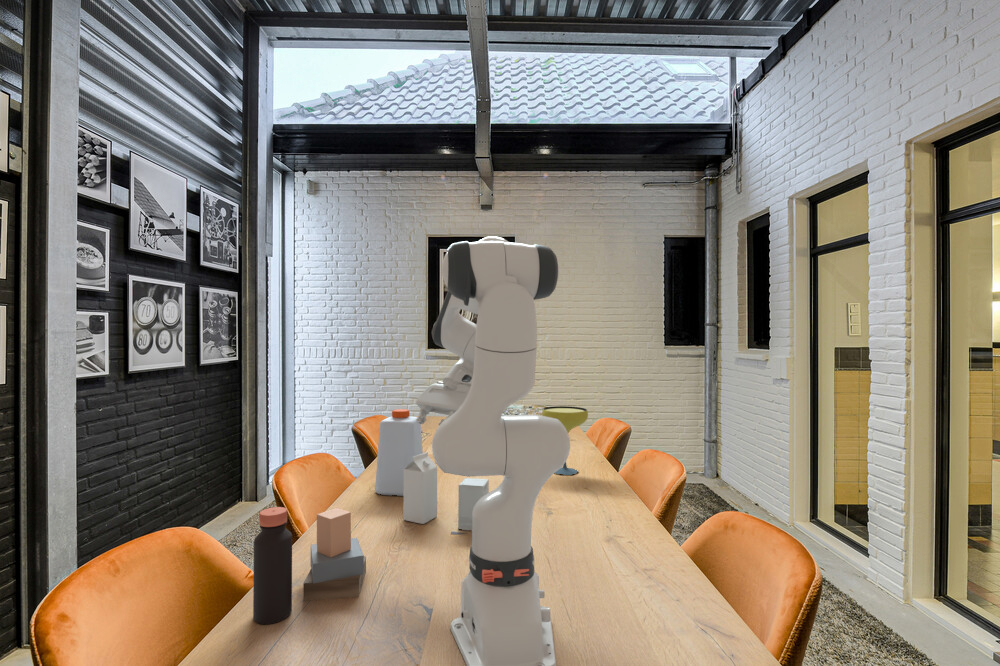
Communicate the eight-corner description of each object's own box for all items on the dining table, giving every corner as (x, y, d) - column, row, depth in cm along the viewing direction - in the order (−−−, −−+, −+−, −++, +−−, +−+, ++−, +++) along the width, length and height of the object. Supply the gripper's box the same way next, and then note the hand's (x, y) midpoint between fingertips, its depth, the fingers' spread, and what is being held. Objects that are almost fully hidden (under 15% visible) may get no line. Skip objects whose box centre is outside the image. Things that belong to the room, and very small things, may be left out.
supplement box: (483, 532, 136) (483, 486, 136) (457, 530, 137) (457, 484, 138) (489, 522, 143) (489, 478, 143) (464, 520, 145) (464, 477, 145)
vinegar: (281, 601, 100) (282, 502, 100) (298, 613, 95) (299, 510, 96) (246, 616, 95) (247, 511, 95) (263, 629, 90) (264, 520, 90)
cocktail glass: (594, 470, 200) (594, 408, 200) (576, 480, 185) (576, 414, 185) (554, 463, 210) (554, 405, 210) (534, 473, 194) (534, 410, 195)
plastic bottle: (413, 498, 165) (414, 414, 165) (371, 495, 167) (371, 412, 167) (427, 484, 180) (427, 407, 180) (388, 482, 182) (388, 406, 182)
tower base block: (358, 599, 102) (359, 579, 102) (303, 603, 100) (303, 583, 100) (365, 573, 113) (366, 556, 113) (315, 577, 111) (315, 559, 111)
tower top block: (363, 574, 104) (363, 555, 104) (313, 583, 100) (313, 563, 100) (356, 555, 113) (357, 537, 114) (310, 562, 109) (310, 544, 109)
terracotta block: (350, 549, 107) (350, 512, 107) (330, 557, 103) (330, 519, 103) (336, 543, 110) (336, 507, 110) (316, 551, 106) (316, 514, 106)
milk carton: (403, 520, 144) (403, 455, 145) (418, 512, 151) (418, 450, 151) (422, 524, 141) (423, 458, 141) (437, 516, 147) (437, 453, 148)
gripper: (429, 373, 138) (399, 412, 131) (479, 378, 124) (448, 422, 117) (441, 388, 141) (413, 427, 134) (491, 394, 127) (462, 438, 120)
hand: (430, 425), depth 125 cm, fingers open, 8 cm apart
